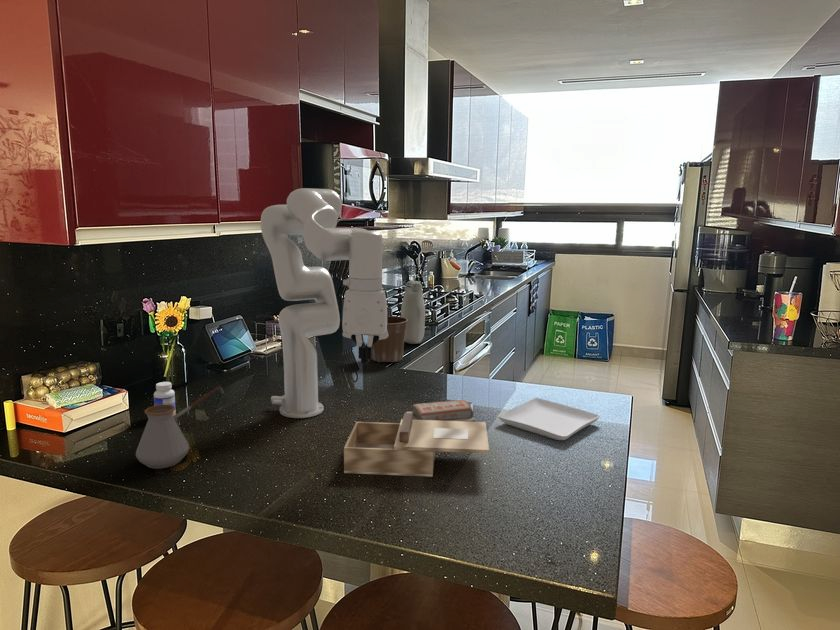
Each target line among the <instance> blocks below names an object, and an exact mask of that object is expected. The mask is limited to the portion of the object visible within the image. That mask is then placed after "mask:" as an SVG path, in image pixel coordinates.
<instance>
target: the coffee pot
mask: <svg viewBox="0 0 840 630" xmlns="http://www.w3.org/2000/svg"><path fill="white" fill-rule="evenodd" d="M220 389H221V390H220ZM218 391H219V392H220V393H221V394H224V393H225V392H224V388H222V387H221V386H216V387H214V389H211V390H209V392H207V393H205V394H203V395H201V396H200V397H199V398H197V399H196V400H195V401H194V402H192V403H191V404H189V405H188V406H186V407H185V408H184V409H182V410H181V411H179V412H177V413H176V415H174V416H173V411H174V410H176V406H175V407H174V406H172V405H156V406H154V405H153V406H149V407H147V408H146V409H145V410H144V414H145V415H146V416H147V418H148V419H147V422H146V425H145V427H144V429H143V432H142V435H141V437H140V441H139V443H138V445H137V448H136V451H135V457H136V459H137V460H138V462H139V463H141V464H142V465H145V466H146V467H148V468H150V469H165V468H169V467H173V466H176V465H177V464H179V463H180V462H181V461H182V460H183V459H184V458H185V457H186V456H187V455H188V452H189V450H190V444H189V442H188V440H187V438H186V437H185V434H184V433H183V431H182V430H181V428H180V426H179V424H178V423H177V421H176V420H177V419H178V418H180V417H181V416H183V414H186V413H187V412H188V411H189V410H191V409H193V408H195V407H196V406H198V405H199V404H201V403H203V402H204V401H206V400H207V399H208V398H209V397H210V396H212V395H215V393H216V392H218Z"/></svg>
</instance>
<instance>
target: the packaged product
mask: <svg viewBox="0 0 840 630" xmlns="http://www.w3.org/2000/svg"><path fill="white" fill-rule="evenodd" d="M472 408H473V407H472V405H471V404H469V402H468V401H466V400H464V399H463V400H447V401H446V400H445V401H435V402H426V403H425V402H423V403H415V404H413V405H411V410H410V411H406V412H405V413H413V420H440V421H468V422H477V419H476V418H475V417H474V411H473V409H472Z"/></svg>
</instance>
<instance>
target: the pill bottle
mask: <svg viewBox="0 0 840 630" xmlns="http://www.w3.org/2000/svg"><path fill="white" fill-rule="evenodd" d="M172 387H173V386H172V382H170V381H162V382H161V381H160V382H158V383H156V384H155V389H156V390H155V391H154V393H153V402H154V403H153V406H156V405H172V406H174V407H175V408H176V397H175V396H176V395H175V393H176V392H175V390H174V389H172ZM176 412H177V411H176V409H175V410H174V411H173V416H174V415H176V414H177V413H176Z"/></svg>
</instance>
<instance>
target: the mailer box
mask: <svg viewBox="0 0 840 630" xmlns="http://www.w3.org/2000/svg"><path fill="white" fill-rule="evenodd" d="M399 426H400V422H397V423H396V422H376V421H375V422H374V421H373V422H371V421H355V424H354V426H353V428H352V430H351V432H350V434H349V436H348V439H347V441H346V442H345V445H344V448H343V473H344V474H359V475H360V474H361V475H383V476H384V475H386V476H407V477H409V476H411V477H433V476H434V475H433V474H434V465H435V464H434V463H435V454H436V451H415V450H394V445H395V441H396V437H397V433H398V430H399Z"/></svg>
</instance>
